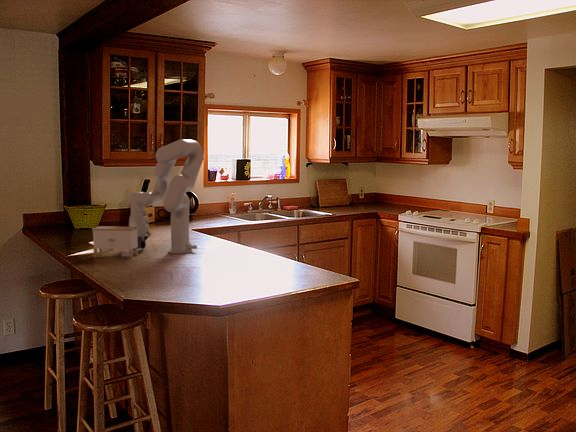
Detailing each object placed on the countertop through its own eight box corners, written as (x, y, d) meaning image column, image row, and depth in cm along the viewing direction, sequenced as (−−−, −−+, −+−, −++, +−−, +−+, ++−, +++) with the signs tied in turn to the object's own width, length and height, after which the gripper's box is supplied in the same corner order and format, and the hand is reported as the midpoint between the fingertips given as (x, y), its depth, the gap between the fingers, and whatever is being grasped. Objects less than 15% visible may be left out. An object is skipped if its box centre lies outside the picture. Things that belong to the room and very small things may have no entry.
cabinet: (138, 255, 297) (138, 226, 295) (131, 258, 288) (131, 229, 286) (100, 254, 299) (99, 226, 298) (92, 257, 290) (91, 228, 288)
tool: (144, 248, 314) (143, 235, 313) (132, 254, 297) (131, 241, 296) (137, 248, 314) (136, 235, 313) (124, 254, 297) (124, 240, 296)
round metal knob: (131, 256, 296) (131, 252, 295) (128, 257, 291) (128, 253, 291) (123, 255, 296) (123, 252, 296) (120, 257, 292) (119, 253, 292)
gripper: (155, 213, 312) (156, 247, 314) (126, 213, 314) (127, 246, 316) (150, 215, 305) (151, 249, 307) (120, 215, 307) (121, 248, 309)
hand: (139, 247), depth 312 cm, fingers closed on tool, 4 cm apart
